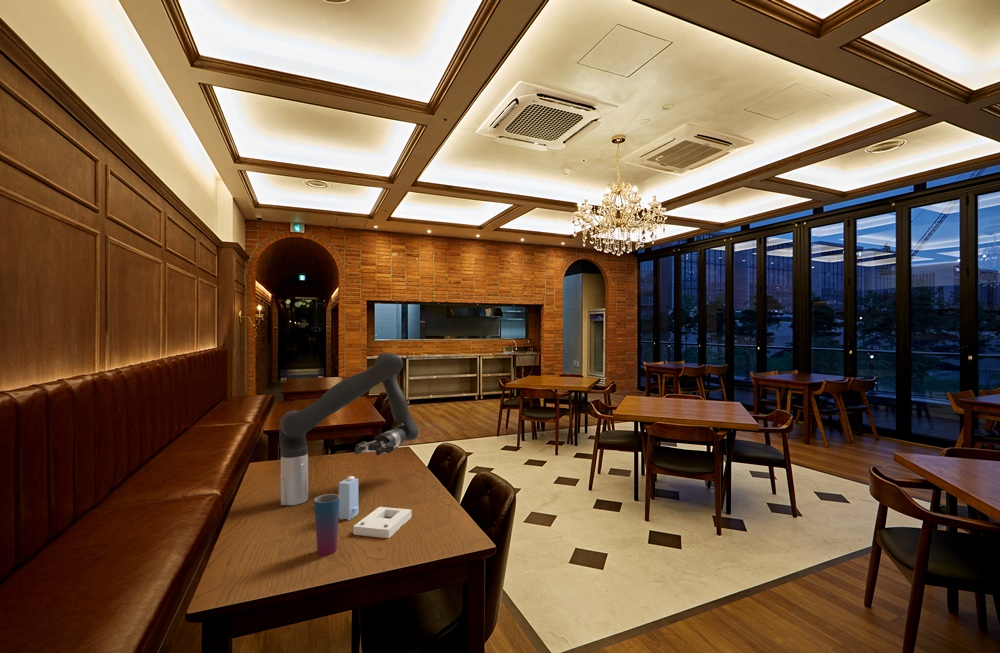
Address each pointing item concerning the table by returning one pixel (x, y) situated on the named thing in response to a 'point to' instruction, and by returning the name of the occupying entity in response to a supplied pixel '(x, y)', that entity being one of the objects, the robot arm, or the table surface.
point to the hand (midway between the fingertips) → (366, 452)
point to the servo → (348, 498)
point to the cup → (326, 523)
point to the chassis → (382, 522)
